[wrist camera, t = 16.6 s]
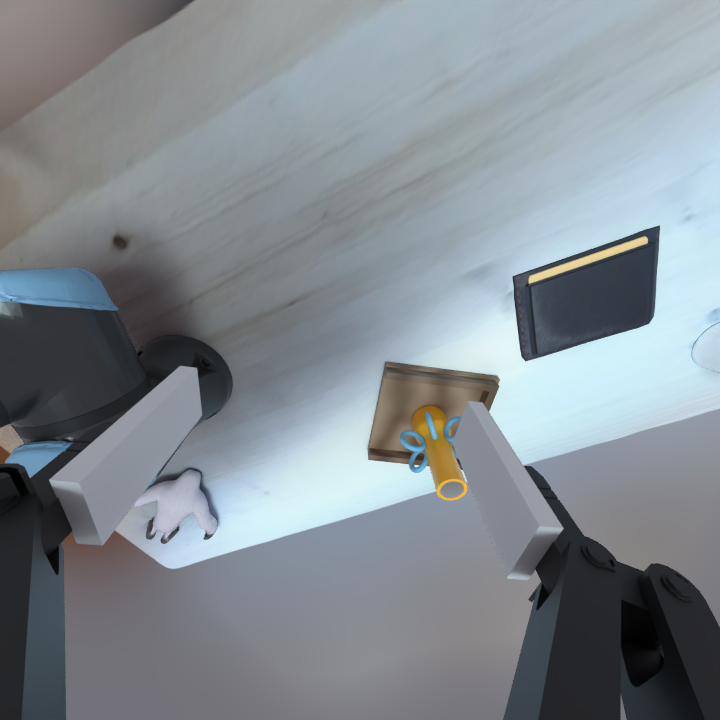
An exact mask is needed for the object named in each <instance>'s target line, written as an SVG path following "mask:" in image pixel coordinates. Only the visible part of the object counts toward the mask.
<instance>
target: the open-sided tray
mask: <svg viewBox="0 0 720 720" xmlns="http://www.w3.org/2000/svg"><path fill="white" fill-rule="evenodd" d="M499 381H500V379H499V378H498V377H497V376H493V375H485V374H478V373H470V372H462V371H454V370H446V369H439V368H431V367H423V366H415V365H407V364H400V363H392V362H386V363H385V368H384V372H383V377H382V382H381V387H380V392H379V397H378V402H377V407H376V412H375V417H374V421H373V426H372V431H371V436H370V441H369V446H368V460H375V461H384V462H394V463H403V464H409V461H410V457H411V455H412V454H413V452H414V451H411V450H409V449H407V448H406V447H404V446H403V445H402V443H401V442H400V439H399V436H400V434H401V433H402V432H403V431H406V430H410V431H414V430H413V426H412V417H413V415H414V413H415V412H416V411H417V410H418V409H420V408H422V407H425V406H435V407H438V408H440V409H441V410H442V411H443V412H444V413H445V416H446V418H447V420H448V421H449V420H450V419H452V418H453V417H456V416H461V417H462V415H463V412H464V410H465V407H466V404H467V401H474V402H482V403H483V404H484V406H485V407H486V409H487V410H488V412H489V410H490V408H491V405H492V403H493V400H494V398H495V395H496V393H497V390H498V388H499V385H498V383H499ZM459 423H460V421H457V422H455V423H454V424H452V426H451V431H452V434H451V437H453V436H455V434H456V432H457V429H458V426H459ZM404 438H405V440H406V442H408V443H409V444H411V445H413V446H420V444H419V443H418V442H417V441H416V438H415V437H414V436H410V435H407V436H405V437H404ZM452 447H453V449H454V446H453V445H452ZM454 450H455V449H454ZM456 459H457V462H458V464H459V467H460V469H461V470H463V468H462V466H461V463H460V461H459V459H458V458H456ZM423 460H424V453H423V452H421V453H419V454H418V455H417V456H416V458H415V460H414V465H421V464H422V462H423ZM427 466H429V463H428V464H427Z"/></svg>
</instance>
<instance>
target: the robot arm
mask: <svg viewBox="0 0 720 720" xmlns="http://www.w3.org/2000/svg"><path fill="white" fill-rule="evenodd" d="M118 311H119V309H118V307H117V306H115V305H114V304H113V302H112V300H111V299H110V297H109V295H108V293H107V291H106V289H105V288H104V286H103V284H102V282H101V281H100V279H99V278H98V277H97V276H96V275H95V274H93V273H91V272H90V271H87V270H85V269H81V268H75V267H69V268H46V269H25V270H4V271H0V428H1V427H3V426H5V425H8V424H10V425H11V426H12V427H13V428H14V429H15V431H16V432H17V433H18V435H19V436H20V438H21V439H22V440H23V442H24V445H20V446H19V447H17V448H15V449H14V450H13V451H12V452H11V455H10V456H9V457H8V458H7V459H6V461H5V464H0V720H66V687H65V617H64V616H65V614H64V549H63V547H62V544H61V542H62V541H63V540H64V539H65V538H66V537H67V536H68V535H69V534H70V532H71V531H72V534H73V536H74V538H75V540H76V543H79V544H93V545H103V544H104V543H105V542H106V540H107V539H108V538H109V537H110V535H111V534H112V533H113V531H114V530H115V529H116V527H117V526H118V525H119V524H120V522H121V521H122V520H123V518H124V517H125V516H126V514H127V513H128V512H129V510H130V509H131V508H132V507H133V505H134V504H135V503H136V501H137V500H138V499H139V497H140V496H141V495H142V494H143V493H144V491H145V490H146V489H147V488H148V487H149V486H150V485H152V484H153V483H154V482H155V480H156V478H157V477H158V475H159V474H160V473H161V471H162V470H163V469H164V467H165V466H166V464H167V463H168V462H169V460H170V459H171V458H172V456H173V455H174V453H175V452H176V451H177V449H178V448H179V447H180V445H181V444H182V442H183V441H184V440H185V438H186V437H187V436H188V434H189V433H190V432H191V430H192V429H193V428H194V427H195V426H197V425H198V424H200V423H201V422H202V421H204V420H206V419H208V418H210V417H212V416H214V415H215V414H217V413H218V412H219V411H220V410H221V409H222V407H223V406H224V405H225V403H226V402H227V400H228V399H229V397H230V394H231V391H232V378H231V374H230V371H229V369H228V367H227V365H226V363H225V362H224V361H223V359H222V358H221V357H220V356H219V355H218V354H217V353H216V352H215V351H214V350H213V349H211V348H210V347H209V346H207V345H206V344H204V343H202V342H200V341H198V340H195V339H193V338H189V337H185V336H178V335H169V336H163V337H160V338H157V339H155V340H153V341H151V342H150V343H148V344H146V345H145V346H143V347H142V348H141V349H140V350H139V351H138V352H136V350H135V348H134V346H133V344H132V341H131V339H130V337H129V335H128V333H127V331H126V328H125V326H124V324H123V322H122V320H121V317H120V315H119V313H118ZM452 444H453V446H454V449H455V451H456V454H457V456H458V459H459V461H460V463H461V466H462V468H463V471H464V473H465V476H466V478H467V481H468V483H469V486H470V488H471V491H472V493H473V496H474V498H475V501H476V503H477V505H478V508H479V511H480V513H481V516H482V518H483V521H484V523H485V525H486V528H487V530H488V533H489V535H490V538H491V540H492V543H493V545H494V548H495V550H496V553H497V555H498V558H499V560H500V563H501V565H502V568H503V570H504V573H505V575H506V578H510V579H522V580H529V578H530V577H531V575H532V574H533V572H534V571H535V569H536V571H537V573H538V575H539V578H540V580H541V583H540V584H539V585H538V587H537V588H536V589H535V591H534V592H533V594H532V595H531V597H530V598H529V601H531V602H532V601H533V600H534V602H533V606H532V610H531V615H530V618H529V622H528V626H527V630H526V634H525V637H524V641H523V645H522V649H521V653H520V657H519V661H518V665H517V668H516V672H515V676H514V680H513V684H512V688H511V692H510V696H509V700H508V704H507V707H506V711H505V715H504V719H503V720H620V696H622V700H623V704H624V709H625V714H626V718H627V720H720V627H719V625H718V623H717V621H716V619H715V617H714V615H713V613H712V612H711V610H710V608H709V606H708V604H707V602H706V600H705V599H704V597H703V596H702V594H701V593H700V591H699V590H698V589H697V588H696V587H695V586H694V585H693V584H692V583H691V582H690V581H689V580H687V579H686V578H685V577H684V576H682V575H681V574H679V573H678V572H676V571H675V570H673V569H671V568H669V567H668V566H664V565H661V564H650V566H649V567H648V568H647V569H646V570H645V571H641V570H639V569H636V568H633V567H631V566H628V565H626V564H623V563H620V562H618V561H616V559H615V557H614V556H613V555H612V554H611V553H610V552H609V551H608V550H607V549H606V548H605V547H604V546H602V545H601V544H599V543H598V542H597V541H594V540H593V539H590V538H588V537H585V536H584V535H583V534H582V532H581V531H580V529H579V528H578V526H577V525H576V524H575V522H574V521H573V519H572V518H571V516H570V515H569V513H568V512H567V511H566V509H565V508H564V507H563V505H562V503H561V502H560V500H558V498H557V496H556V495H555V494H554V492H553V491H551V487H550V486H549V485H548V483H547V482H546V480H545V479H544V477H543V476H542V475H540V474H539V473H538V472H537V471H536V470H535V469H534V468H533V467H531V466H523V464H522V463H521V461H520V460H519V458H518V457H517V455H516V454H515V452H514V451H513V449H512V447H511V446H510V444H509V443H508V441H507V440H506V438H505V437H504V435H503V434H502V432H501V430H500V429H499V427H498V426H497V424H496V423H495V421H494V420H493V418H492V416H491V415H490V413H489V412H488V410H487V409H486V407H485V406H484V404H483V403H482V402H474V401H467V404H466V407H465V410H464V412H463V415H462V418H461V421H460V423H459V426H458V429H457V432H456V434H455V437H454V440H453V443H452Z"/></svg>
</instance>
